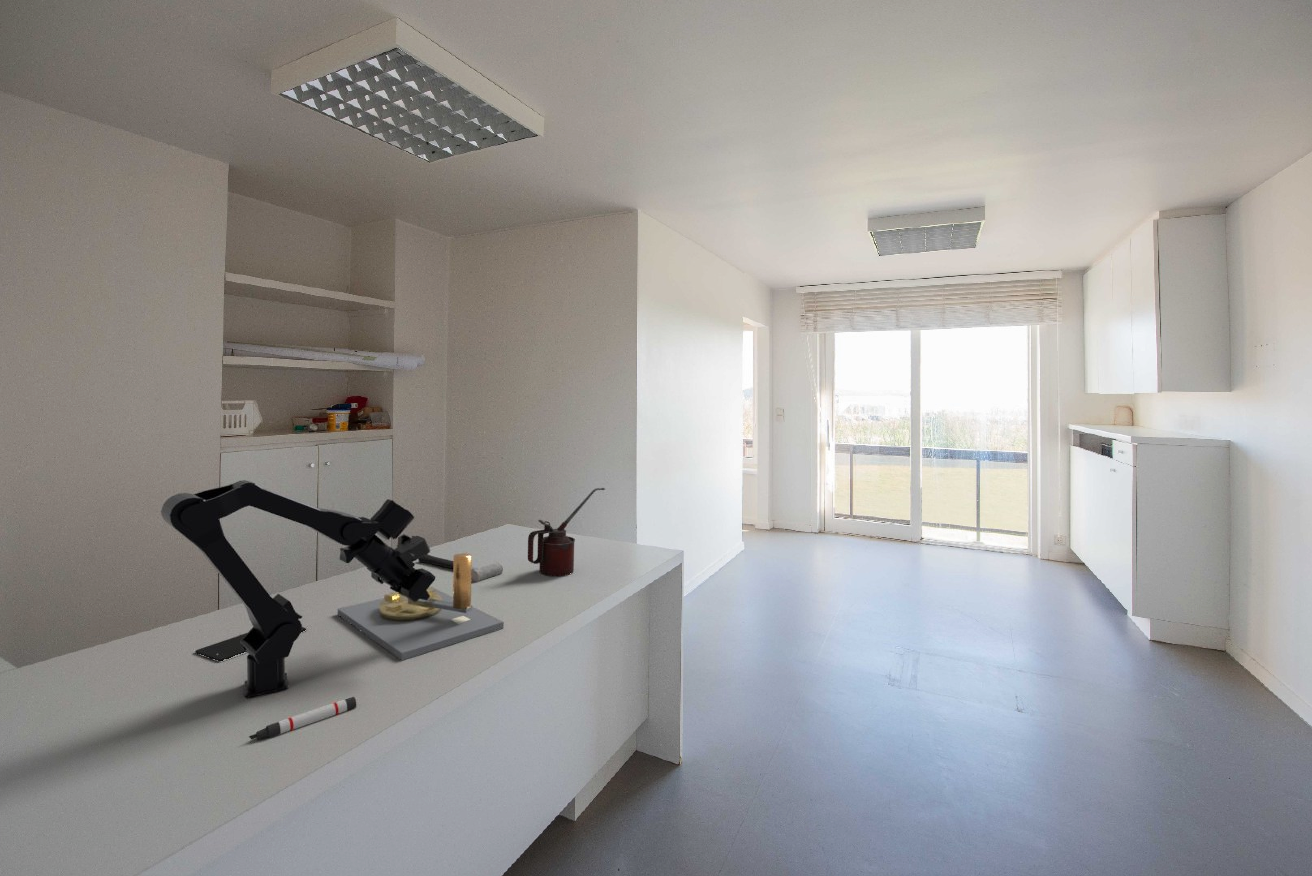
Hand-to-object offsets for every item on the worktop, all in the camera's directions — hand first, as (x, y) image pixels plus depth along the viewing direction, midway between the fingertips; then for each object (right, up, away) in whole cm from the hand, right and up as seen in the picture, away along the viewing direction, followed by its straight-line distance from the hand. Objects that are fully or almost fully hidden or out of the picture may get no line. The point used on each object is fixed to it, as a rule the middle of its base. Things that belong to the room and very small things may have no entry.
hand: (427, 597), depth 129 cm
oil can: (+23, -6, +55) cm, 60 cm away
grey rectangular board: (-6, -8, +9) cm, 14 cm away
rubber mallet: (-11, -6, +51) cm, 53 cm away
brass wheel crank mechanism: (-4, -6, +10) cm, 13 cm away
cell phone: (-36, -9, -4) cm, 37 cm away
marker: (-7, -12, -34) cm, 37 cm away
